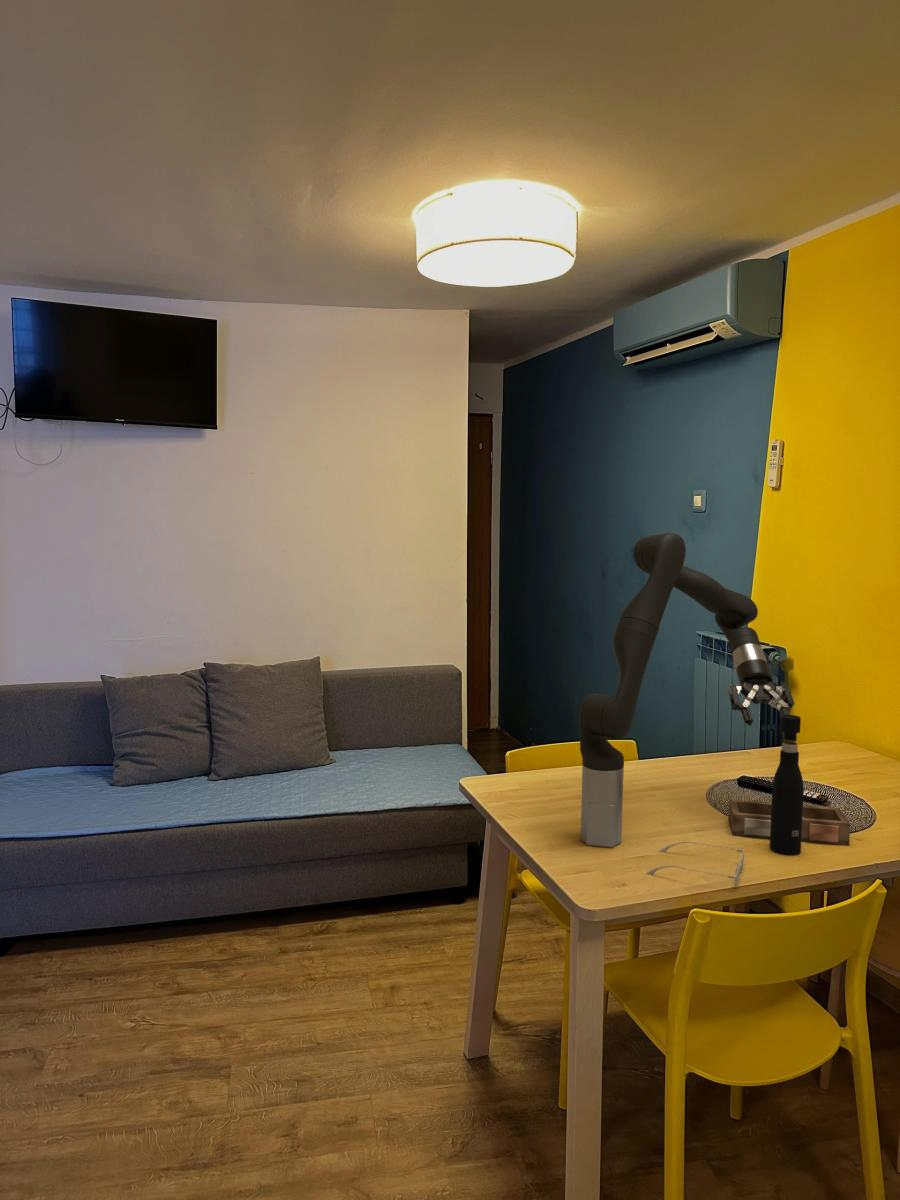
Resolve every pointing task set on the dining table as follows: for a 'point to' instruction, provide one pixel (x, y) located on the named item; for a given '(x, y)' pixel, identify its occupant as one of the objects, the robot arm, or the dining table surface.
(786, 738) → the black insulated water bottle
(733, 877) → the eyeglasses
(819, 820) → the socket board
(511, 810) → the dining table surface
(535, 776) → the dining table surface
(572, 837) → the dining table surface
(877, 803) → the dining table surface
